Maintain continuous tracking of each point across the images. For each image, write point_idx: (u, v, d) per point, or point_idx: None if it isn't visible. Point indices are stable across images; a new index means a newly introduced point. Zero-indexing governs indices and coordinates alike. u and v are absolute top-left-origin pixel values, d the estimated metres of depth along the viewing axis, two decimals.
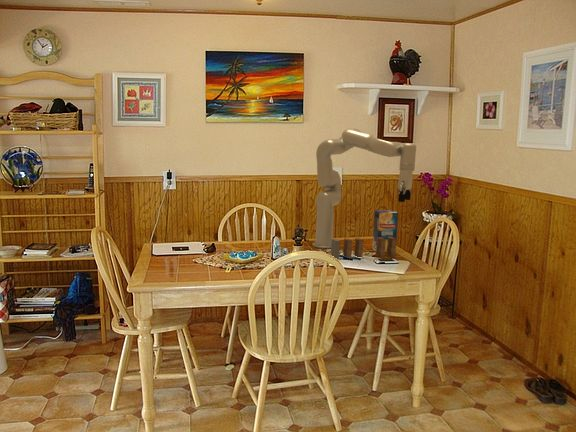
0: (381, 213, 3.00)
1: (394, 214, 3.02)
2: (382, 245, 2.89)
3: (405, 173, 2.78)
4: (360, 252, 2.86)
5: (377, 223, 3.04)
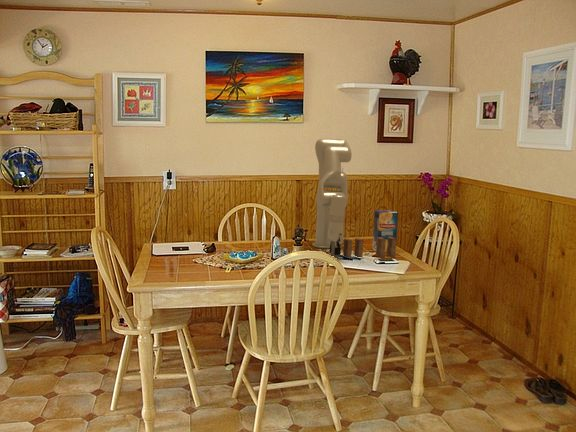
0: (381, 213, 3.00)
1: (394, 214, 3.02)
2: (382, 245, 2.89)
3: (342, 225, 2.77)
4: (360, 252, 2.86)
5: (377, 223, 3.04)
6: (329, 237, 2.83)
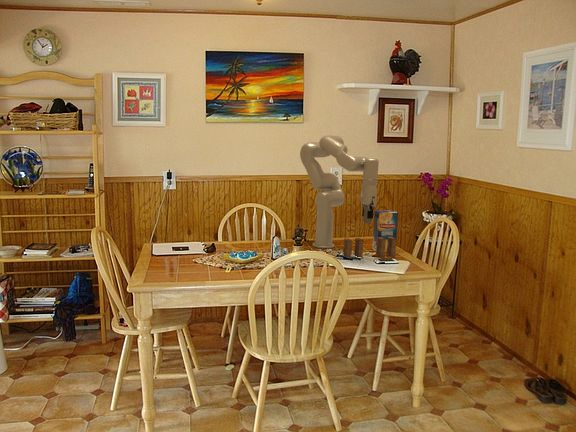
0: (381, 213, 3.00)
1: (394, 214, 3.02)
2: (382, 245, 2.89)
3: (375, 188, 2.79)
4: (360, 252, 2.86)
5: (377, 223, 3.04)
6: (362, 201, 2.85)
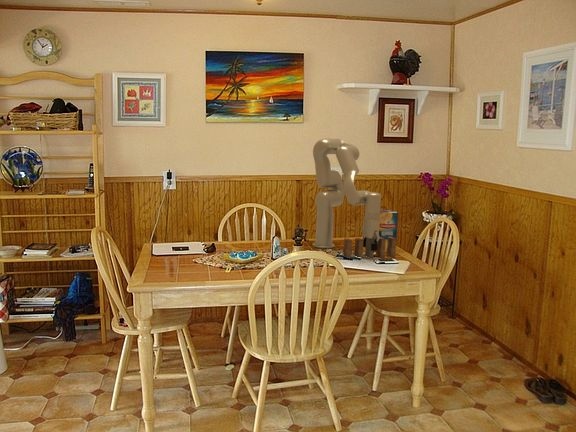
0: (381, 213, 3.00)
1: (394, 214, 3.02)
2: (382, 245, 2.89)
3: (377, 222, 2.84)
4: (360, 252, 2.86)
5: None
6: (364, 234, 2.89)
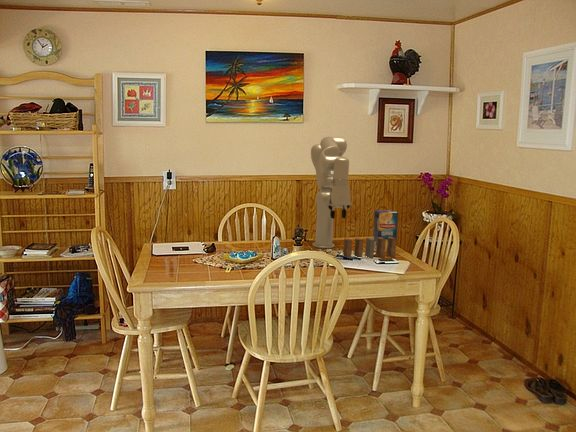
0: (381, 213, 3.00)
1: (394, 214, 3.02)
2: (382, 245, 2.89)
3: None
4: (360, 252, 2.86)
5: (377, 223, 3.04)
6: (338, 203, 2.76)
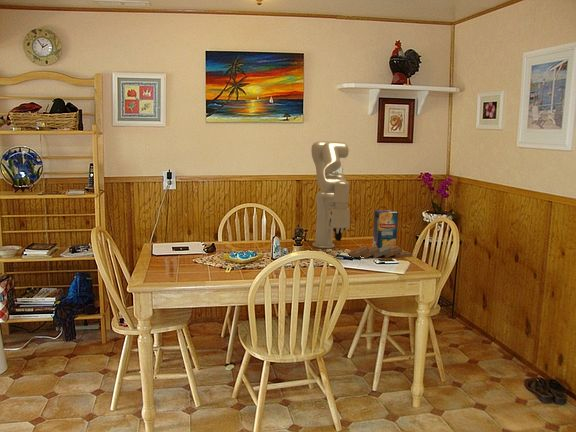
0: (381, 213, 3.00)
1: (394, 214, 3.02)
2: (396, 250, 2.92)
3: None
4: (368, 254, 2.87)
5: (377, 223, 3.04)
6: (338, 225, 2.79)
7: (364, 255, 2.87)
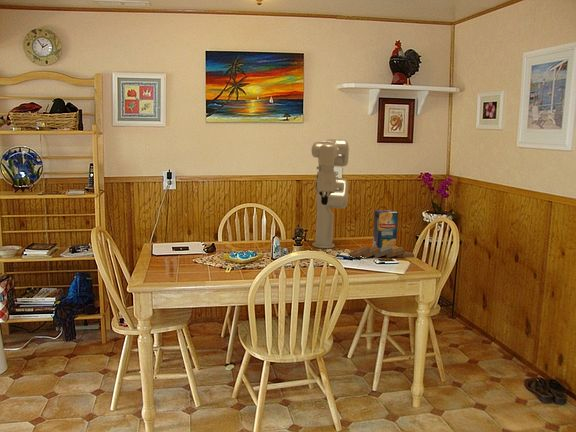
0: (381, 213, 3.00)
1: (394, 214, 3.02)
2: (398, 251, 2.91)
3: None
4: (369, 254, 2.88)
5: (377, 223, 3.04)
6: (324, 189, 2.81)
7: (365, 255, 2.87)
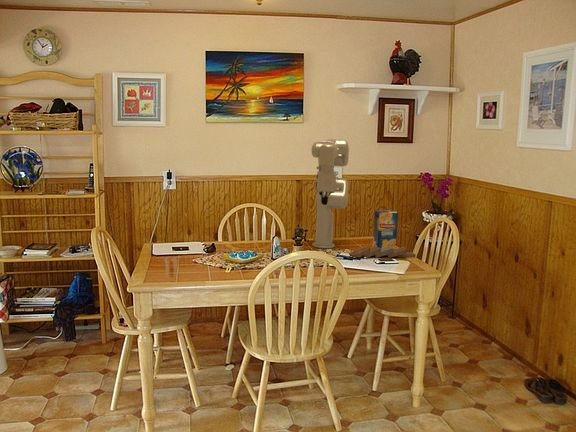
0: (381, 213, 3.00)
1: (394, 214, 3.02)
2: (400, 251, 2.91)
3: None
4: (370, 254, 2.88)
5: (377, 223, 3.04)
6: (324, 189, 2.81)
7: (366, 255, 2.87)
